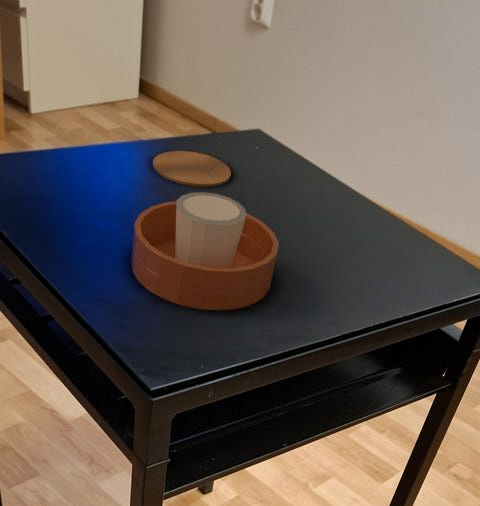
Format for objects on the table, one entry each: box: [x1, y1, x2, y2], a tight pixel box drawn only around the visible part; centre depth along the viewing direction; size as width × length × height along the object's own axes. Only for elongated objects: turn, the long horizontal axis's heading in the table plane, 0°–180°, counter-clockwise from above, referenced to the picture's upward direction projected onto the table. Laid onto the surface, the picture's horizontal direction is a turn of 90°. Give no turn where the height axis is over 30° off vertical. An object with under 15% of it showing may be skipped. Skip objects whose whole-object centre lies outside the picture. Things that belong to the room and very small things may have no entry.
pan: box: [130, 200, 280, 311], centre depth 74 cm, size 14×14×4 cm
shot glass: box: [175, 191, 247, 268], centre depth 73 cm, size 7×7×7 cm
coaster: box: [152, 150, 232, 188], centre depth 94 cm, size 10×10×1 cm
